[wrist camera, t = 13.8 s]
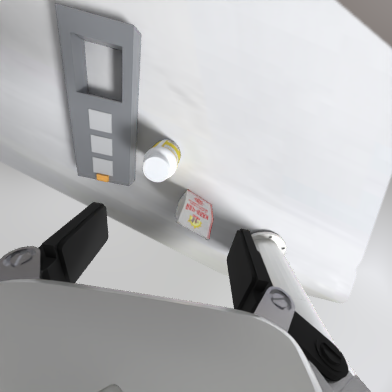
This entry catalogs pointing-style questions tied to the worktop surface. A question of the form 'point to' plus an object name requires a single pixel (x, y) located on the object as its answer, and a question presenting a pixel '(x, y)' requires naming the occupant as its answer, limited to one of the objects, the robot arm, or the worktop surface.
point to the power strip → (96, 105)
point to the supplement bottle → (161, 160)
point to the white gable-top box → (195, 214)
